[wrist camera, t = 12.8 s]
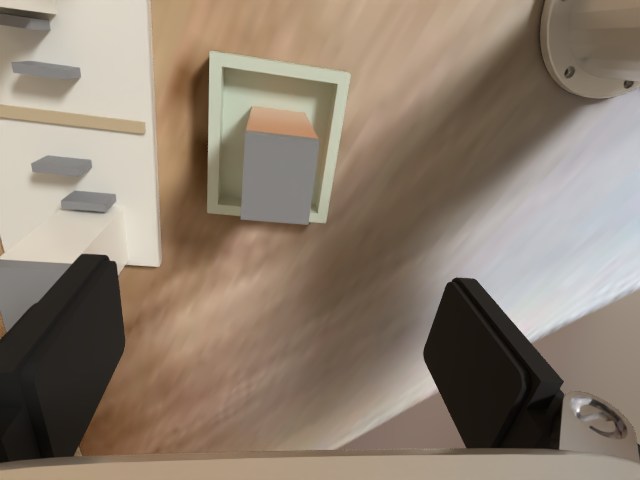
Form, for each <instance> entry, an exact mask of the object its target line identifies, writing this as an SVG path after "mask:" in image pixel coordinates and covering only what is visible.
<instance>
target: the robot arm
mask: <svg viewBox="0 0 640 480" xmlns="http://www.w3.org/2000/svg"><path fill="white" fill-rule="evenodd" d="M540 43H541V52H542V56H543V59H544V63H545V66H546V68H547V70H548V71H549V73H550V75H551V77H552V78H553V79H554V80H555V81H556V82H557V84H558V85H559V86H560V87H562V88H563V89H565V90H567V91H568V92H570V93H572V94H575V95H579V96H582V97H589V98H596V99H597V98H611V97H614V96H618V95H622V94H625V93H627V92H629V91H632V90H634V89H636V88H638V87H640V0H545V4H544V8H543V12H542V16H541V27H540ZM124 347H125V334H124V325H123V316H122V307H121V298H120V289H119V280H118V271H117V264H116V262H115V261H110V259H109V257H108V256H107V255H99V254H81V255H80V256H79V257H78V258H77V259H76V260H75V261H74V262H73V264H72V265H71V266H70V267H69V268H68V269H67V270H66V271H65V272H64V274H63V275H62V276H61V277H60V278H59V279H58V280H57V281H56V282H55V284H54V285H53V286H52V287H51V288H50V289H49V290H48V291H47V293H46V294H45V295H44V296H43V297H42V298H41V299H40V300H39V301H38V303H35V304H33V305H32V306H31V307H30V308H29V309H28V310H27V311H26V312H25V313H24V314H23V315H22V317H21V318H20V319H19V320H18V321H17V322H16V323H15V324H14V325H13V326H12V328H11V329H10V330H9V331H8V332H7V333H6V334H5V335H4V336H3V337H2V339H1V340H0V480H640V445H639V444H637V438H636V433H635V431H634V428H633V426H632V425H631V423H630V422H629V420H628V419H627V418H626V417H625V416H624V415H623V414H622V413H621V412H620V411H619V410H618V409H616V408H615V407H614V406H612V405H611V404H610V403H608V402H606V401H605V400H603V399H601V398H599V397H597V396H594V395H592V394H589V393H586V392H581V391H571V392H568V393H567V394H565V395H564V394H563V392H562V391H561V390H560V387H561V385H562V384H563V382H564V381H563V380H562V379H561V378H560V377H559V376H558V374H557V373H556V372H555V371H554V370H553V369H552V367H551V366H550V365H549V364H548V363H547V362H546V360H545V359H544V358H543V357H542V356H541V355H540V353H539V352H538V351H537V350H536V349H535V348H534V347H533V345H532V344H531V343H530V342H529V341H528V339H527V338H526V337H525V336H524V335H523V334H522V332H521V331H520V330H519V329H518V328H517V327H516V326H515V324H514V323H513V322H512V321H511V320H510V319H509V317H508V316H507V315H506V314H505V313H504V312H503V310H502V309H501V308H500V307H499V306H498V305H497V303H496V302H495V301H494V300H493V299H492V298H491V296H490V295H489V294H488V293H487V292H486V291H485V290H484V288H483V287H482V286H481V285H480V284H479V283H478V281H477V280H475V279H471V278H454V279H453V280H452V282H448V283H447V285H446V287H445V290H444V293H443V296H442V299H441V301H440V304H439V307H438V310H437V313H436V316H435V319H434V321H433V324H432V327H431V330H430V333H429V336H428V339H427V342H426V344H425V347H424V352H423V355H424V360H425V363H426V365H427V367H428V369H429V371H430V373H431V375H432V377H433V380H434V382H435V384H436V386H437V388H438V390H439V392H440V394H441V396H442V398H443V400H444V402H445V404H446V406H447V409H448V411H449V413H450V415H451V417H452V419H453V421H454V423H455V425H456V427H457V429H458V432H459V434H460V436H461V437H462V440H463V442H464V444H465V446H466V448H460V449H372V450H371V449H370V450H307V451H252V452H206V453H160V454H128V455H101V456H75V457H74V455H75V453H76V451H77V449H78V446H79V444H80V442H81V440H82V438H83V436H84V434H85V432H86V430H87V428H88V425H89V423H90V421H91V419H92V417H93V415H94V413H95V411H96V409H97V407H98V404H99V402H100V400H101V398H102V396H103V394H104V392H105V390H106V388H107V386H108V383H109V381H110V379H111V377H112V375H113V373H114V371H115V369H116V367H117V365H118V362H119V360H120V358H121V356H122V354H123V351H124Z"/></svg>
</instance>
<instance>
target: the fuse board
mask: <svg viewBox="0 0 640 480" xmlns="http://www.w3.org/2000/svg"><path fill="white" fill-rule="evenodd" d="M55 5H56V13H57V14H50V13H43V12H35V11H28V10H20V9H13V8H5V7H0V236H1V240H2V244H3V248H4V252H7V251H8V250H9V249H10V248H12V247H13V246H14V245H15V244H17V243H18V242H19V241H20V240H22V239H23V238H24V237H25V236H27V235H28V234H29V233H30V232H32V231H33V230H34V229H36V228H37V227H38V226H39V225H41V224H42V223H43V222H44V221H46V220H47V219H48V218H49V217H51V216H52V215H53V214H54V213H56V212H57V211H58V210H59V209H61V208H64V209H76V210H88V211H100V212H107V211H108V209H109V208H110V207H111V206H112V205H113V206H124V216H125V228H126V239H127V250H128V261H127V263H126V264H125V265H138V266H155V267H159V266H160V264H161V262H162V250H161V227H160V204H159V181H158V158H157V135H156V112H155V90H154V67H153V44H152V21H151V0H55ZM122 270H123V269H122ZM121 272H122V271H121ZM121 272H120V274H121ZM120 274H119V275H120ZM119 275H118V277H119Z"/></svg>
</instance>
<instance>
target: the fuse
mask: <svg viewBox="0 0 640 480" xmlns="http://www.w3.org/2000/svg"><path fill="white" fill-rule="evenodd" d="M81 254H99V255H107V256H108V257H109V259H110V261H115V262H116V264H117V271H118V275H119V274H120V272H121V271H122V269H123V267H124V266H125V264H126V263H127V261H128V250H127V239H126V228H125V216H124V206H113V205H112V206H111V207H110V208H109V209H108V211H107V212H100V211H88V210H76V209H64V208H61V209H59V210H58V211H57V212H56V213H54V214H53V215H52V216H51V217H49V218H48V219H47V220H46V221H44V222H43V223H42V224H41V225H39V226H38V227H37V228H36V229H34V230H33V231H32V232H30V233H29V234H28V235H27V236H25V237H24V238H23V239H22V240H20V241H19V242H18V243H17V244H15V245H14V246H13V247H12V248H10V249H9V250H8V251H7V252H5V253H4V254H3V255H2V256H0V311H1V315H2V318H3V322H4V326H5V329H6V333H7V332H8V331H9V330H10V329H11V328H12V326H13V325H14V324H15V323H16V322H17V321H18V320H19V319H20V318H21V317H22V315H23V314H24V313H25V312H26V311H27V310H28V309H29V308H30V307H31V306H32V305H33V304H35V303H38V301H39V300H40V299H41V298H42V297H43V296H44V295H45V294H46V293H47V291H48V290H49V289H50V288H51V287H52V286H53V285H54V284H55V282H56V281H57V280H58V279H59V278H60V277H61V276H62V275H63V274H64V272H65V271H66V270H67V269H68V268H69V267H70V266H71V265H72V264H73V262H74V261H75V260H76V259H77V258H78V257H79V256H80V255H81Z"/></svg>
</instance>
